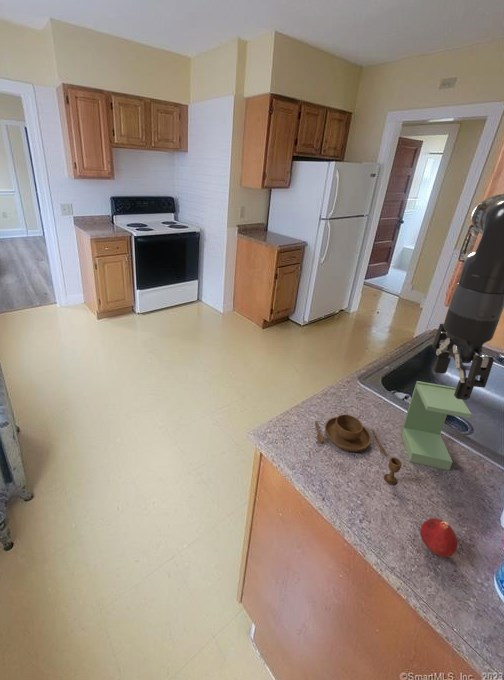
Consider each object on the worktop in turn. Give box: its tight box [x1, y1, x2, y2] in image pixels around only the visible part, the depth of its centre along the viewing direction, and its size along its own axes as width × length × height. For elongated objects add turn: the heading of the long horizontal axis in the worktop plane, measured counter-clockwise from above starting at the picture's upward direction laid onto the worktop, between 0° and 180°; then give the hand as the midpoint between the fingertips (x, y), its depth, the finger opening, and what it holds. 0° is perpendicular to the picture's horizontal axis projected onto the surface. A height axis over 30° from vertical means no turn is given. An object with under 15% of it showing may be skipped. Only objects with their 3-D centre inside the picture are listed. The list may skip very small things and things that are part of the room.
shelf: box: [400, 380, 473, 471], centre depth 82 cm, size 10×9×18 cm
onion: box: [419, 517, 458, 558], centre depth 61 cm, size 6×6×8 cm
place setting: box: [314, 414, 403, 486], centre depth 85 cm, size 18×20×6 cm
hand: (449, 384), depth 64 cm, fingers open, 8 cm apart
